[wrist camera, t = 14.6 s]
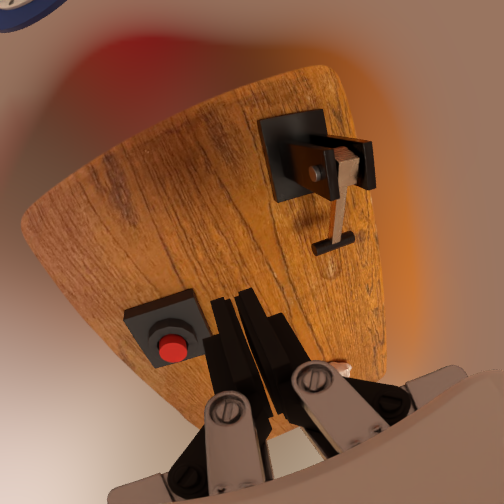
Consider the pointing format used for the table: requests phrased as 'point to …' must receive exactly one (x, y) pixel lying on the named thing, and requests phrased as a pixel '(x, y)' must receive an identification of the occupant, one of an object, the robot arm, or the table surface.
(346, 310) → the table surface
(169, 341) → the button
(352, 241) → the lever
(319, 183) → the switch bracket
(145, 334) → the control block
